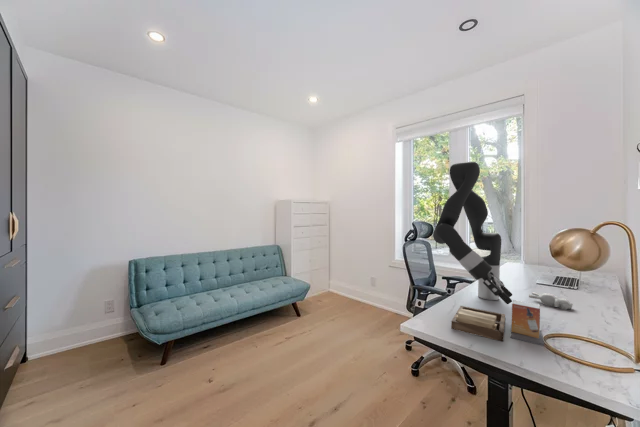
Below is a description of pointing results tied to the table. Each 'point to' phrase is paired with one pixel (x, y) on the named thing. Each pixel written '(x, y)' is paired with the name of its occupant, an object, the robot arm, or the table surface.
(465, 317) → the offcut stack
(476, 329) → the walnut rack
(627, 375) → the table surface
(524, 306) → the small box
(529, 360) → the table surface
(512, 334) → the charcoal mat
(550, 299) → the bunny figurine
